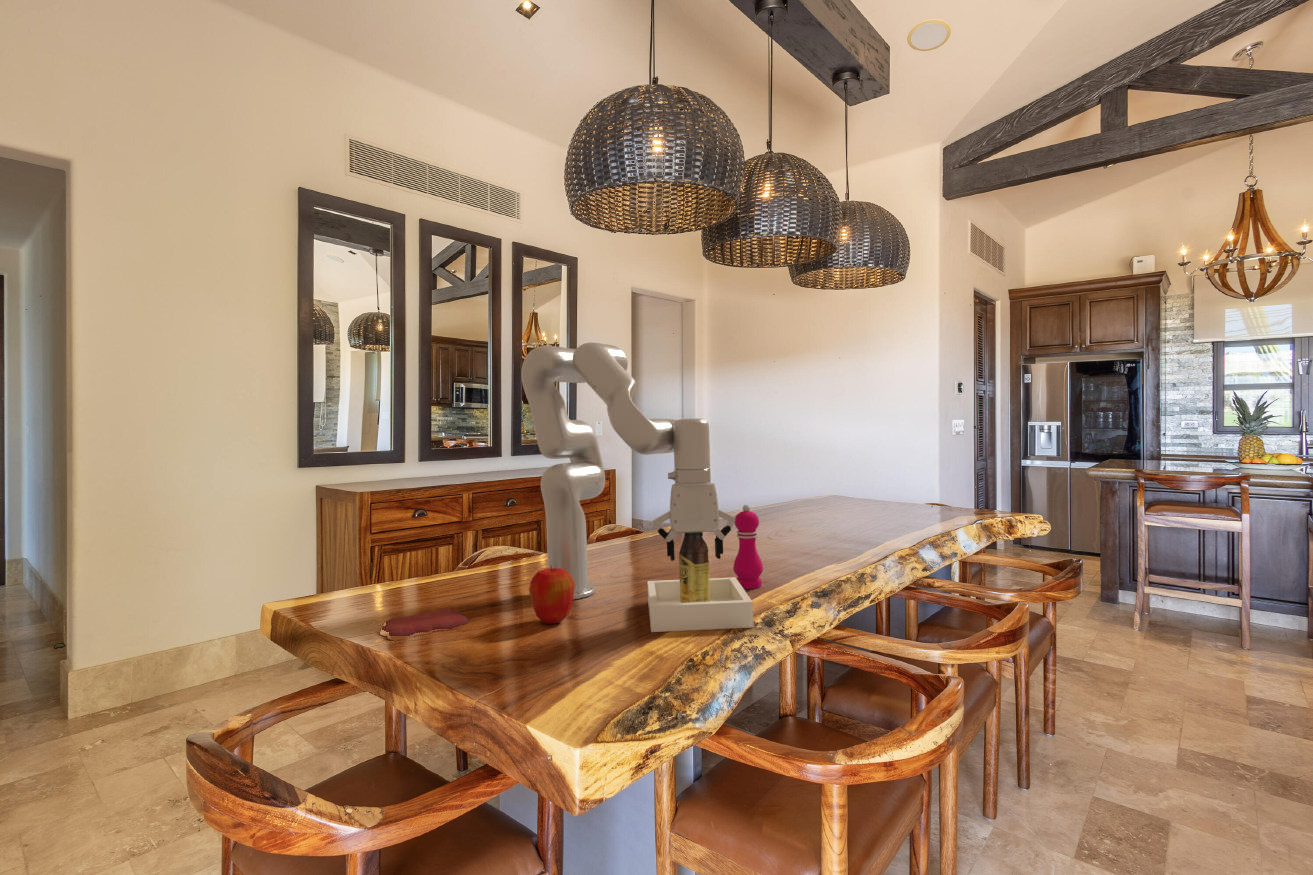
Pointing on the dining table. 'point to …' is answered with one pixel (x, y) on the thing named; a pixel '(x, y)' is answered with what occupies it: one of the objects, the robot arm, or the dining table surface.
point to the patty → (425, 622)
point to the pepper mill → (747, 550)
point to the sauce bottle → (694, 569)
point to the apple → (552, 594)
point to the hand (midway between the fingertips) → (695, 558)
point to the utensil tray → (699, 607)
